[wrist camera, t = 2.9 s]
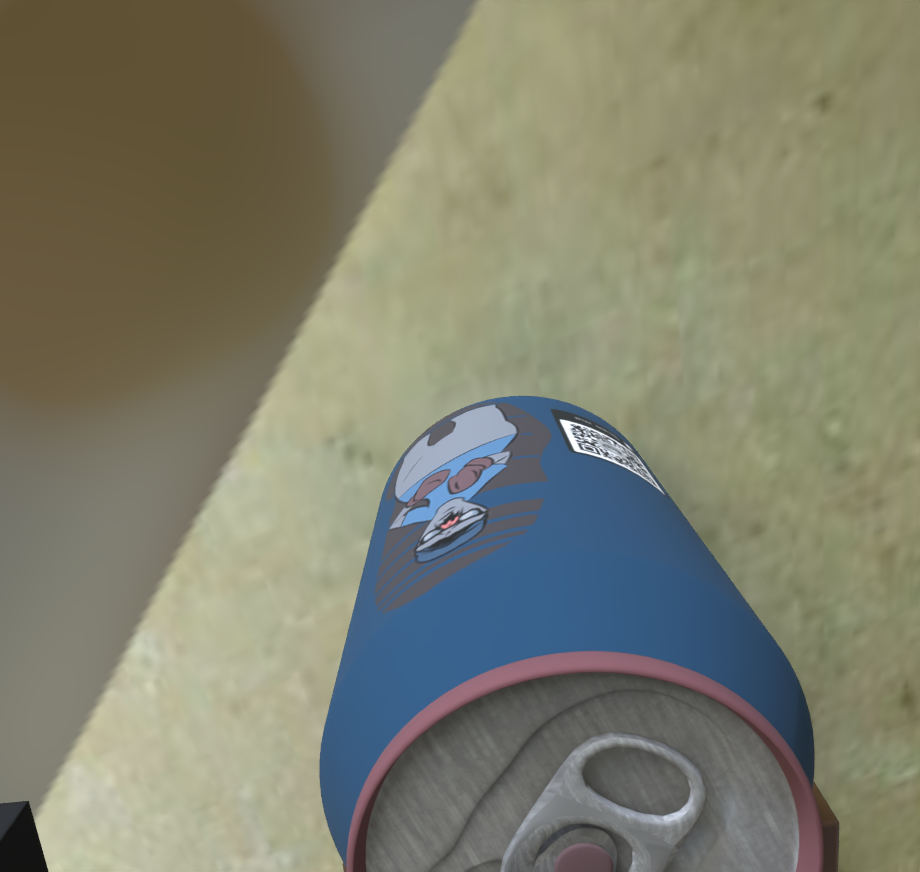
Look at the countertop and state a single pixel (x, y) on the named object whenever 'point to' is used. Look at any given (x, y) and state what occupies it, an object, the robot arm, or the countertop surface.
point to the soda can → (557, 671)
